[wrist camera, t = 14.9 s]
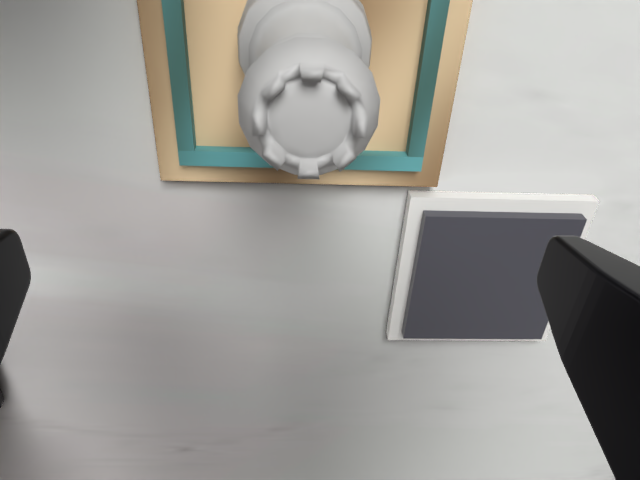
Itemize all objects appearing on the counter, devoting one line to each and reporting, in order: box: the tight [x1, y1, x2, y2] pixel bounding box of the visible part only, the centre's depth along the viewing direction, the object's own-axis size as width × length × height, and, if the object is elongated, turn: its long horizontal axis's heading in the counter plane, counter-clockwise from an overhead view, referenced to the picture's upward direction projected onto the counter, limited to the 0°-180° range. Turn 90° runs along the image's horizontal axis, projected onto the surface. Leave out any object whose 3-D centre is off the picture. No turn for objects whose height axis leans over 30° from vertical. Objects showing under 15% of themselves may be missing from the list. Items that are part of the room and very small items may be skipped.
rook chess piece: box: [237, 0, 380, 179], centre depth 15 cm, size 4×4×8 cm
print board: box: [137, 0, 473, 187], centre depth 18 cm, size 11×11×1 cm
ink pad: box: [386, 190, 600, 341], centre depth 24 cm, size 8×8×1 cm
